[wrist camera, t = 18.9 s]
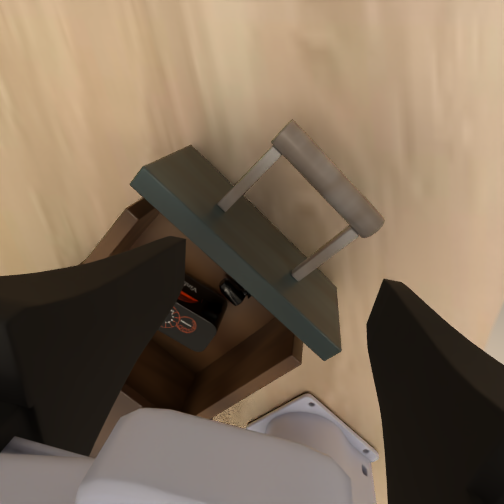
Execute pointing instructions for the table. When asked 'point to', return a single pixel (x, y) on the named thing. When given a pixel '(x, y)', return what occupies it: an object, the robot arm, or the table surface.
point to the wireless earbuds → (200, 312)
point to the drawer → (238, 273)
